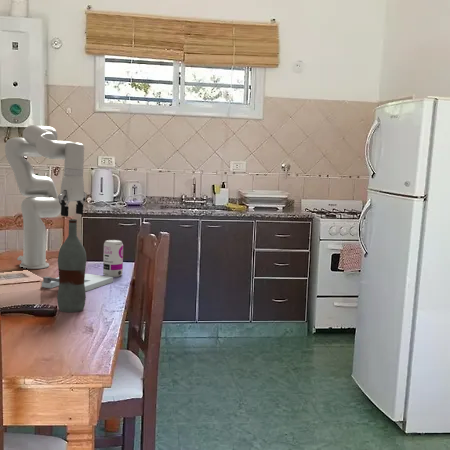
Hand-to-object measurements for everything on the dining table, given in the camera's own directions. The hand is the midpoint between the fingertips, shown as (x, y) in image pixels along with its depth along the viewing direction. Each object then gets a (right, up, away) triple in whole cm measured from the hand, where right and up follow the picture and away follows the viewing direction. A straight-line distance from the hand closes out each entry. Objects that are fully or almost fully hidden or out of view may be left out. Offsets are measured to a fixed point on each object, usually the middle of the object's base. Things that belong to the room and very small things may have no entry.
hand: (72, 214), depth 228 cm
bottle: (+12, -32, -43) cm, 55 cm away
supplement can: (+14, -26, +13) cm, 32 cm away
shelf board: (+5, -28, -7) cm, 29 cm away
